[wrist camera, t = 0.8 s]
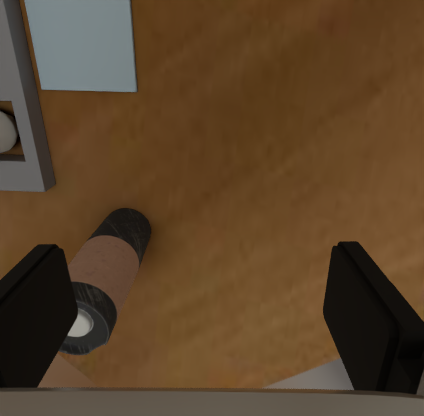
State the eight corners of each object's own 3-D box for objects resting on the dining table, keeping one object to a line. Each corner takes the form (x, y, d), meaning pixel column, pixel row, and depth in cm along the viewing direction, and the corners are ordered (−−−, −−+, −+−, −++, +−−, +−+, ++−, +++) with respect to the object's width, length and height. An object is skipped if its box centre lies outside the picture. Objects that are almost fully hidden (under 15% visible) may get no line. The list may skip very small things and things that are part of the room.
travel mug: (104, 201, 46) (28, 290, 28) (155, 211, 47) (113, 305, 29) (102, 244, 50) (32, 349, 32) (150, 253, 50) (108, 362, 32)
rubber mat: (22, -26, 35) (19, -27, 34) (129, -24, 35) (127, -25, 34) (44, 89, 40) (41, 89, 39) (137, 91, 40) (136, 92, 39)
